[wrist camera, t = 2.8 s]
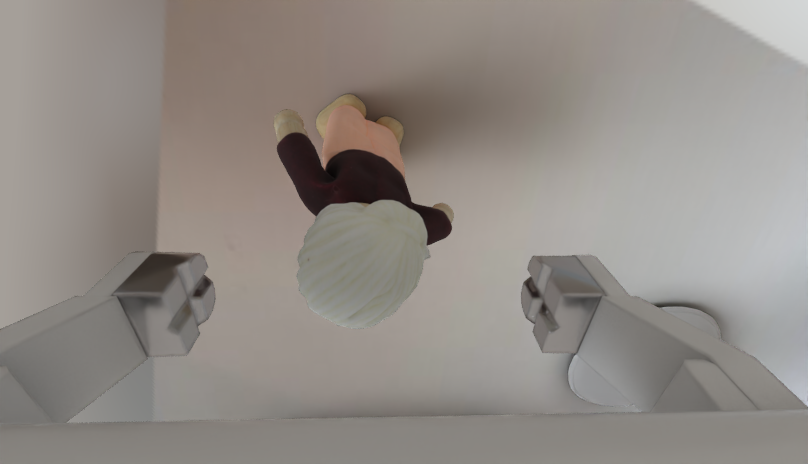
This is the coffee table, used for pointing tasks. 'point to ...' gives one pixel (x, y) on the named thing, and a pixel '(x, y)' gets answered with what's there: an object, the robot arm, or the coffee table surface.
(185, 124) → the coffee table surface
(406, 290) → the grandmother figurine
